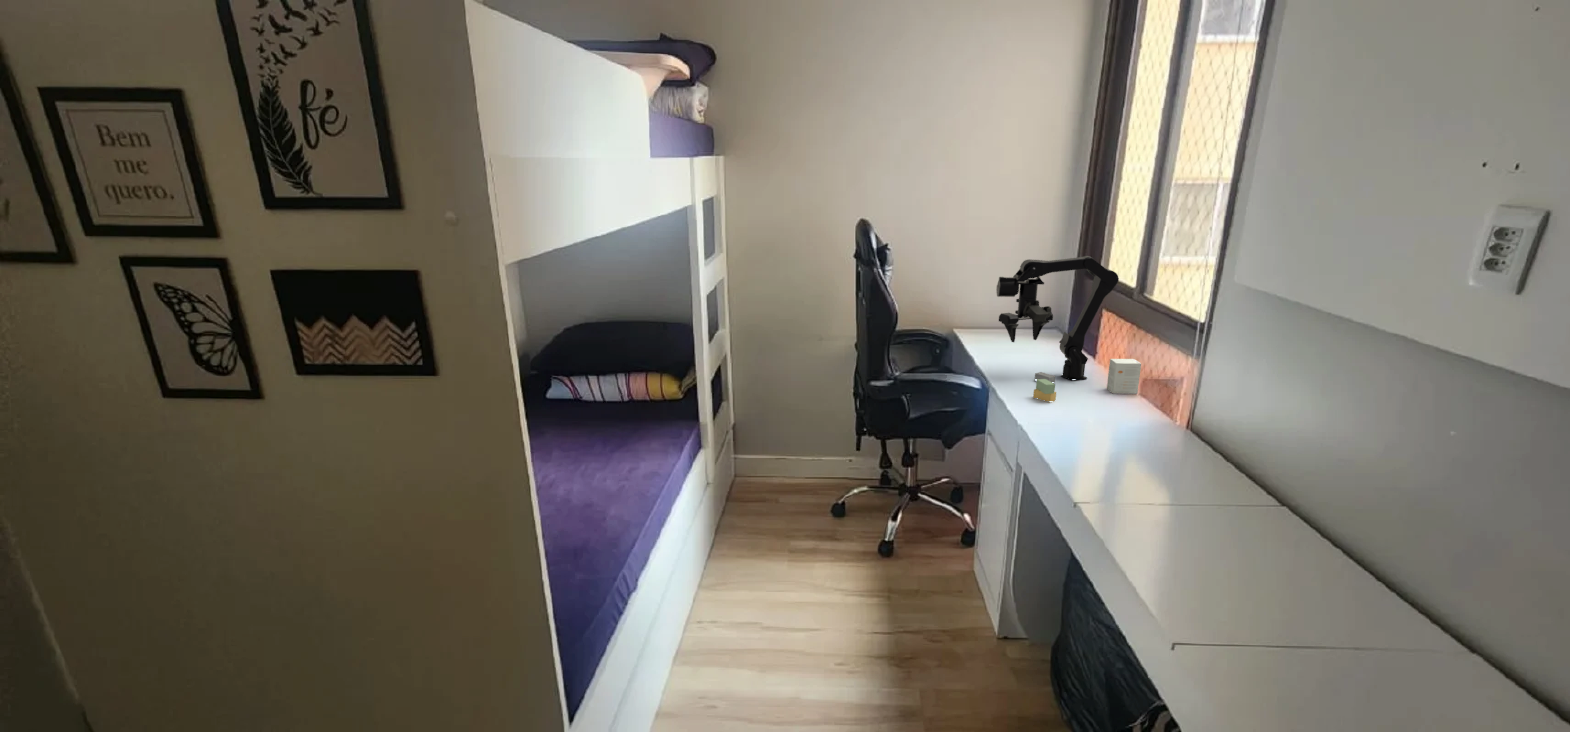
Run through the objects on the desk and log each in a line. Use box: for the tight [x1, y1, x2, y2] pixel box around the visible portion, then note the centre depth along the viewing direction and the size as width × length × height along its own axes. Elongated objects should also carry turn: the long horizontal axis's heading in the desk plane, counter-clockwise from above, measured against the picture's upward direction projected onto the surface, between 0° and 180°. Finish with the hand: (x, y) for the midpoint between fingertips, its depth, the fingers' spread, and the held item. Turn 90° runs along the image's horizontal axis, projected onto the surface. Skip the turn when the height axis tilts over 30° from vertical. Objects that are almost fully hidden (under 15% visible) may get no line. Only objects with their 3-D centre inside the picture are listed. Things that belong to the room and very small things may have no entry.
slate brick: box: [1034, 371, 1056, 383], centre depth 233 cm, size 6×3×3 cm, turn 29°
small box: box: [1106, 358, 1142, 395], centre depth 222 cm, size 8×6×10 cm
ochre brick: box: [1032, 388, 1057, 402], centre depth 216 cm, size 6×3×3 cm, turn 40°
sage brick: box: [1035, 379, 1056, 394], centre depth 215 cm, size 6×3×3 cm, turn 8°
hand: (1023, 341), depth 237 cm, fingers open, 9 cm apart
